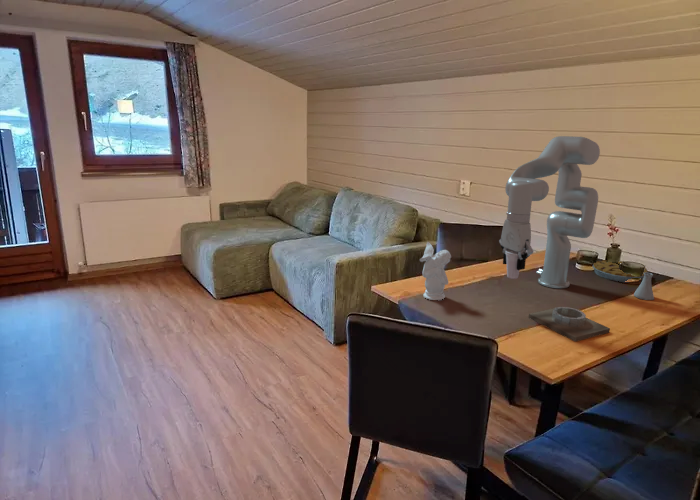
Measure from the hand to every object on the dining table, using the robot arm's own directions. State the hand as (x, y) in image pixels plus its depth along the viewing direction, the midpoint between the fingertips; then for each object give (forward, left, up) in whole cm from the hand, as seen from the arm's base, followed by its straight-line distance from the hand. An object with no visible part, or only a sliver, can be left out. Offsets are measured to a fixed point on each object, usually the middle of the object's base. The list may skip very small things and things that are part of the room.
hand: (513, 266), depth 164 cm
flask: (+10, +61, -18) cm, 64 cm away
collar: (+16, +11, -17) cm, 26 cm away
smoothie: (0, 0, -4) cm, 4 cm away
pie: (-12, +76, -19) cm, 79 cm away
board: (+16, +11, -18) cm, 27 cm away
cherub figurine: (-24, -19, -18) cm, 35 cm away
